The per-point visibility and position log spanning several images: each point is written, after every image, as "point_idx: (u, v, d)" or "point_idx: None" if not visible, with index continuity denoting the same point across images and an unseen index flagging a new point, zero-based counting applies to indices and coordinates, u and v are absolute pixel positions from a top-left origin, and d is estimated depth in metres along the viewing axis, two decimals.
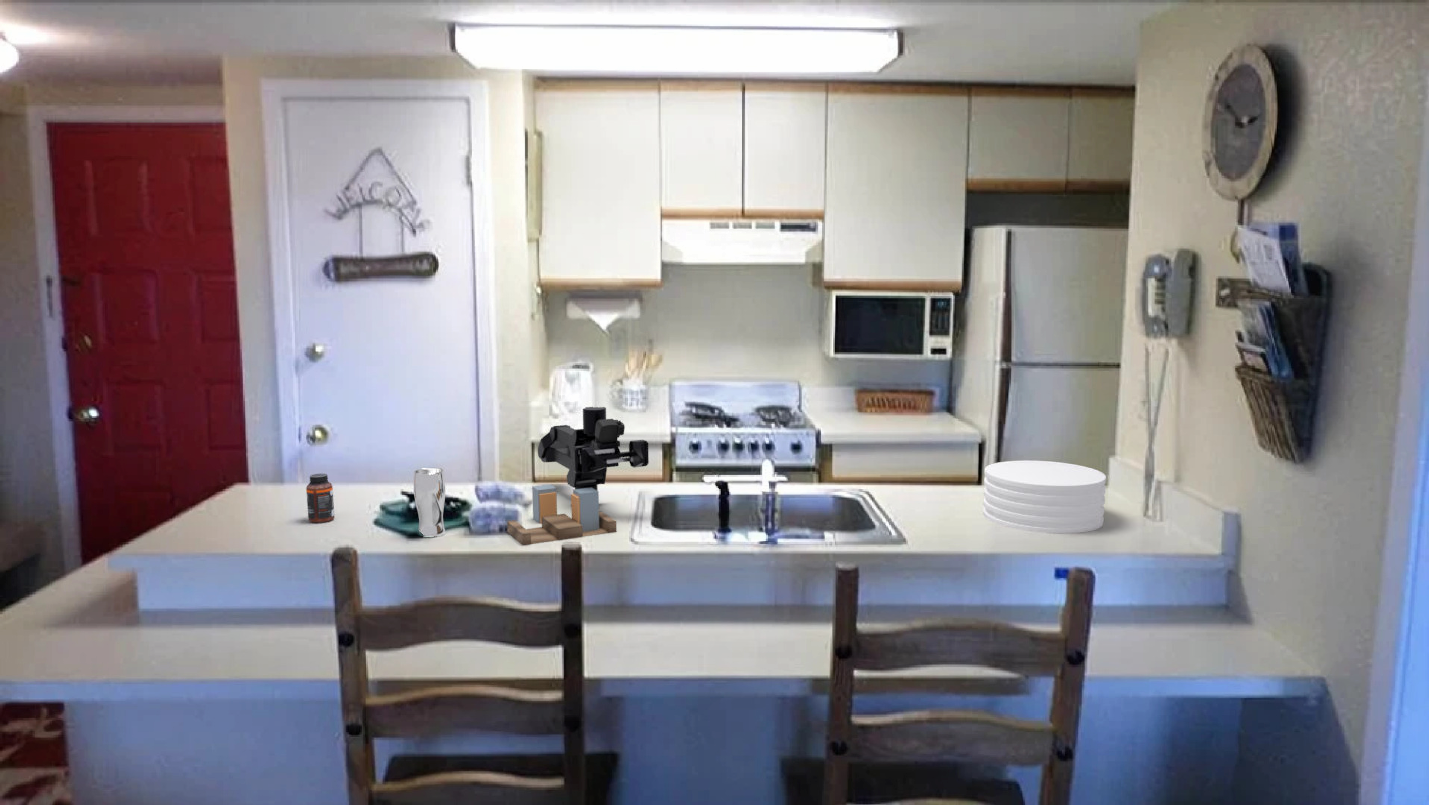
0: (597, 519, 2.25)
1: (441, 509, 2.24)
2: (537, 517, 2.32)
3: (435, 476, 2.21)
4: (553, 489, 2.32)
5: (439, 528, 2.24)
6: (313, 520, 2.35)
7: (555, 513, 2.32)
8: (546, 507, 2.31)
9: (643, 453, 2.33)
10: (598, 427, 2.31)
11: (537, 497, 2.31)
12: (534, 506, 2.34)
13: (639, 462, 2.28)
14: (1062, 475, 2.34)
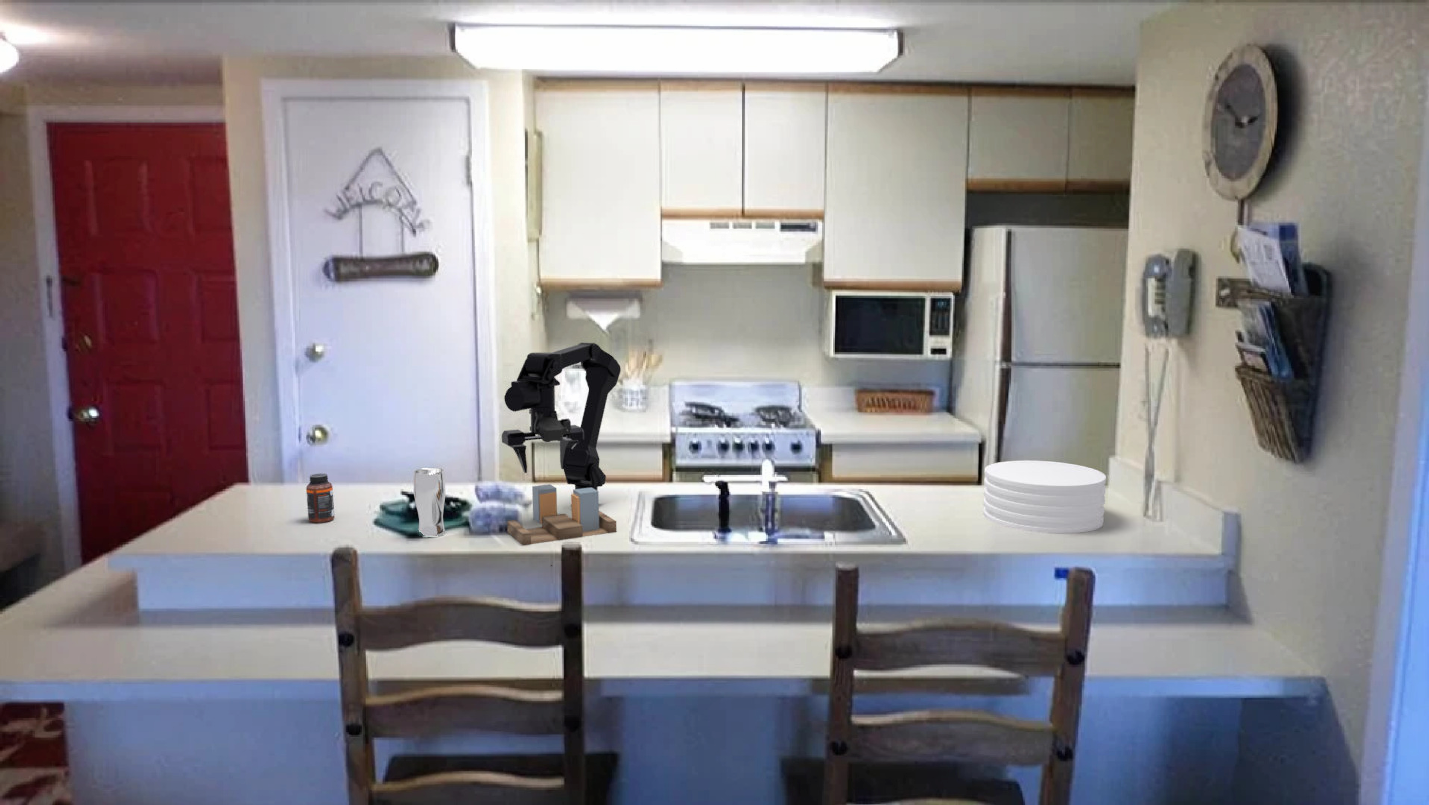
0: (597, 519, 2.25)
1: (441, 509, 2.24)
2: (537, 517, 2.32)
3: (435, 476, 2.21)
4: (553, 489, 2.32)
5: (439, 528, 2.24)
6: (313, 520, 2.35)
7: (555, 513, 2.32)
8: (546, 508, 2.31)
9: None
10: (543, 435, 2.24)
11: (537, 497, 2.31)
12: (534, 506, 2.34)
13: (560, 461, 2.35)
14: (1062, 475, 2.34)
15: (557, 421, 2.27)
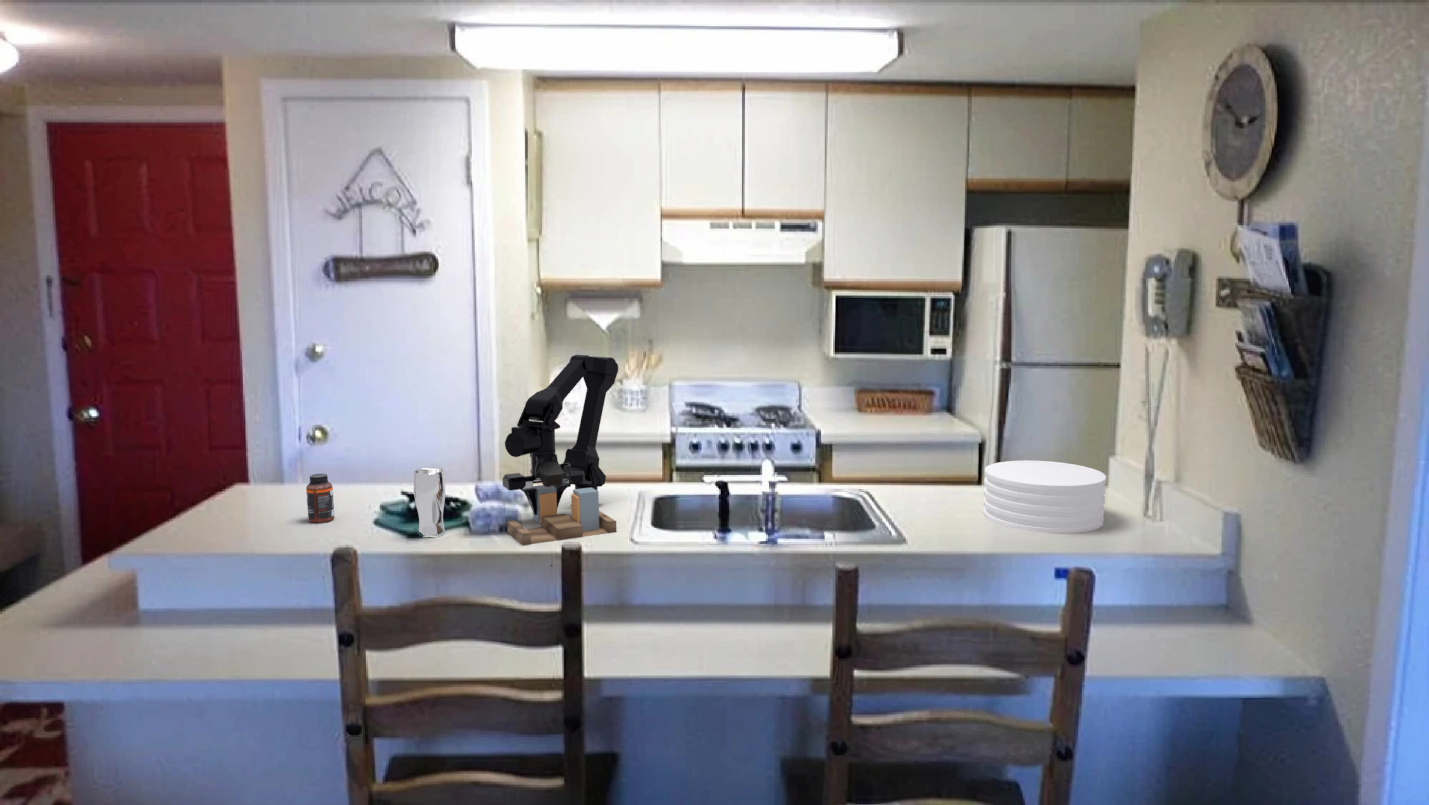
0: (597, 519, 2.25)
1: (441, 509, 2.24)
2: (537, 517, 2.32)
3: (435, 476, 2.21)
4: (553, 489, 2.32)
5: (439, 528, 2.24)
6: (313, 520, 2.35)
7: (555, 513, 2.32)
8: (546, 507, 2.31)
9: None
10: (543, 479, 2.25)
11: (537, 497, 2.31)
12: None
13: None
14: (1062, 475, 2.34)
15: (557, 465, 2.29)
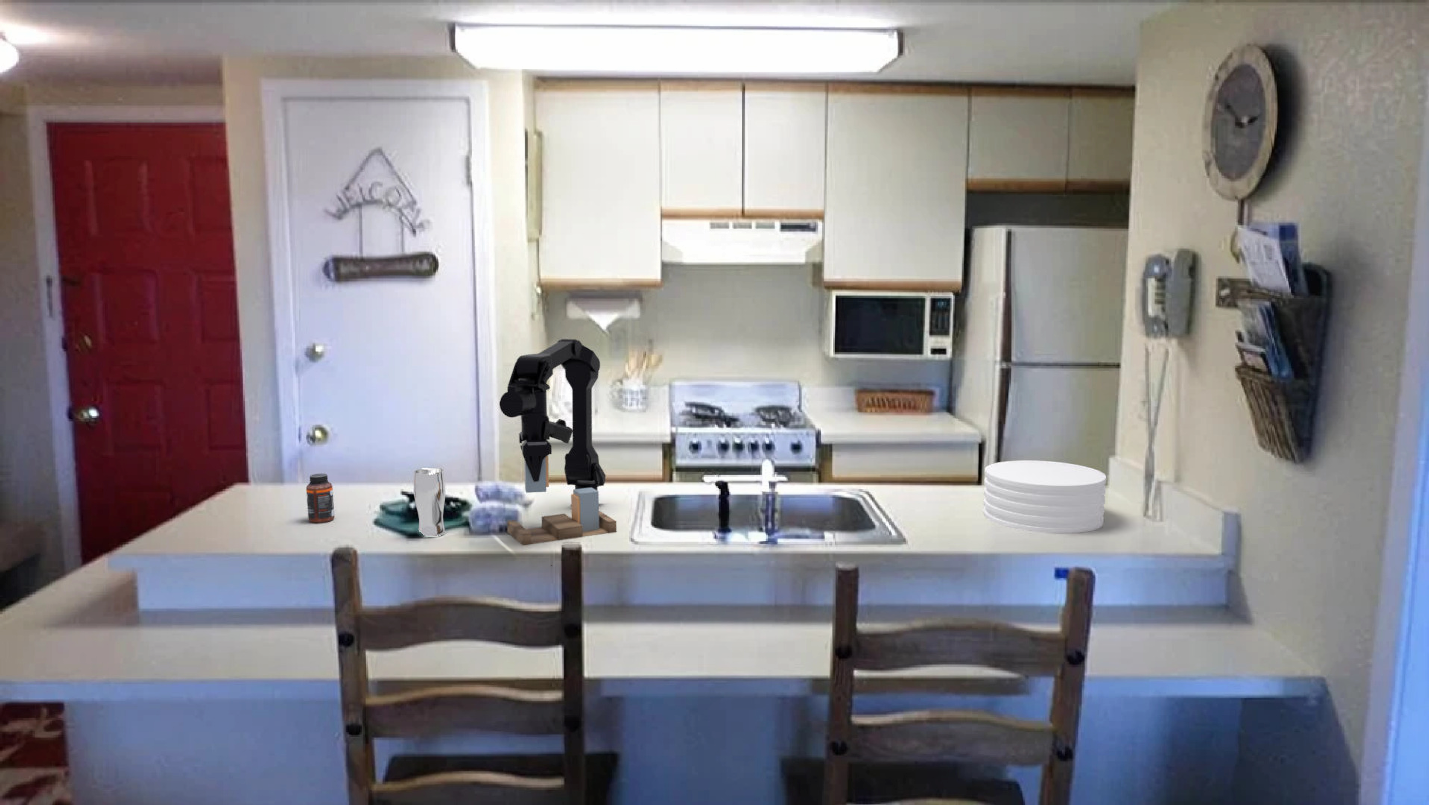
0: (597, 519, 2.25)
1: (441, 509, 2.24)
2: (539, 483, 2.20)
3: (435, 476, 2.21)
4: None
5: (439, 528, 2.24)
6: (313, 520, 2.35)
7: None
8: None
9: None
10: (566, 437, 2.20)
11: None
12: None
13: None
14: (1062, 475, 2.34)
15: (556, 423, 2.23)
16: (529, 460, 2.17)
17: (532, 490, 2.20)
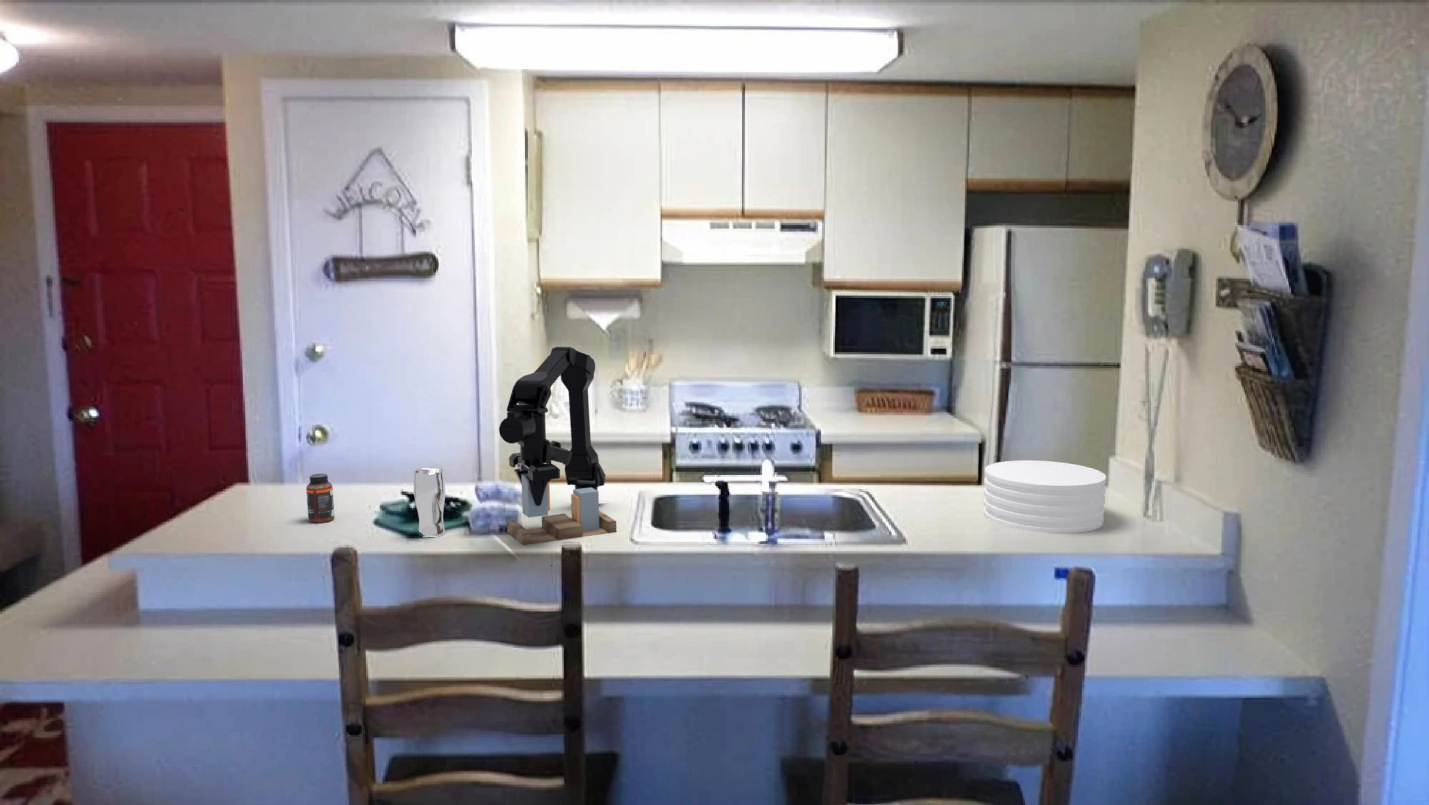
0: (597, 519, 2.25)
1: (441, 509, 2.24)
2: (541, 507, 2.18)
3: (435, 476, 2.21)
4: None
5: (439, 528, 2.24)
6: (313, 520, 2.35)
7: None
8: None
9: None
10: (566, 459, 2.20)
11: None
12: None
13: None
14: (1062, 475, 2.34)
15: (552, 445, 2.22)
16: (533, 485, 2.15)
17: (534, 514, 2.18)
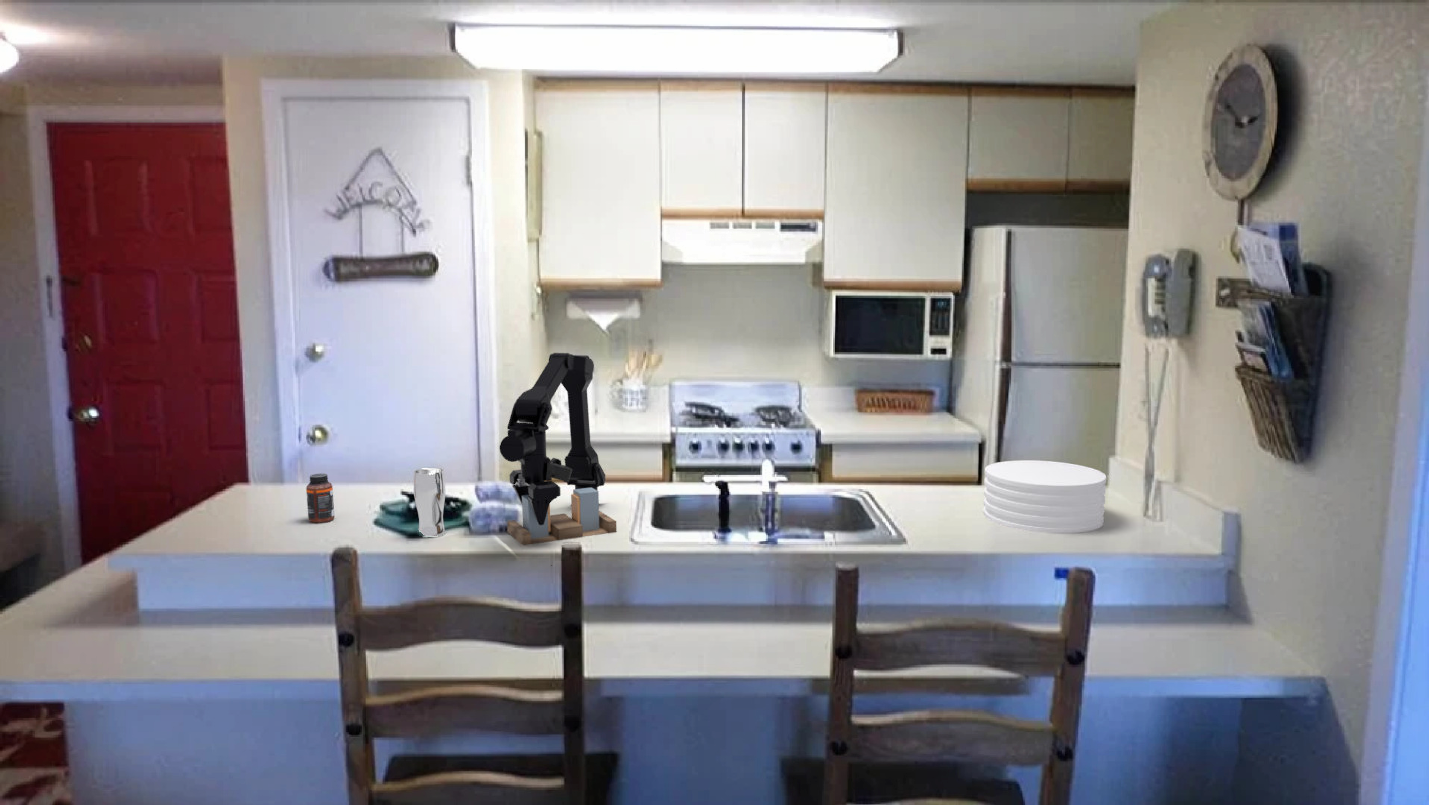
0: (597, 519, 2.25)
1: (441, 509, 2.24)
2: (542, 528, 2.19)
3: (435, 476, 2.21)
4: None
5: (439, 528, 2.24)
6: (313, 520, 2.35)
7: None
8: None
9: None
10: (566, 476, 2.20)
11: None
12: (534, 519, 2.18)
13: None
14: (1062, 475, 2.34)
15: (552, 462, 2.22)
16: (536, 504, 2.14)
17: (535, 536, 2.19)
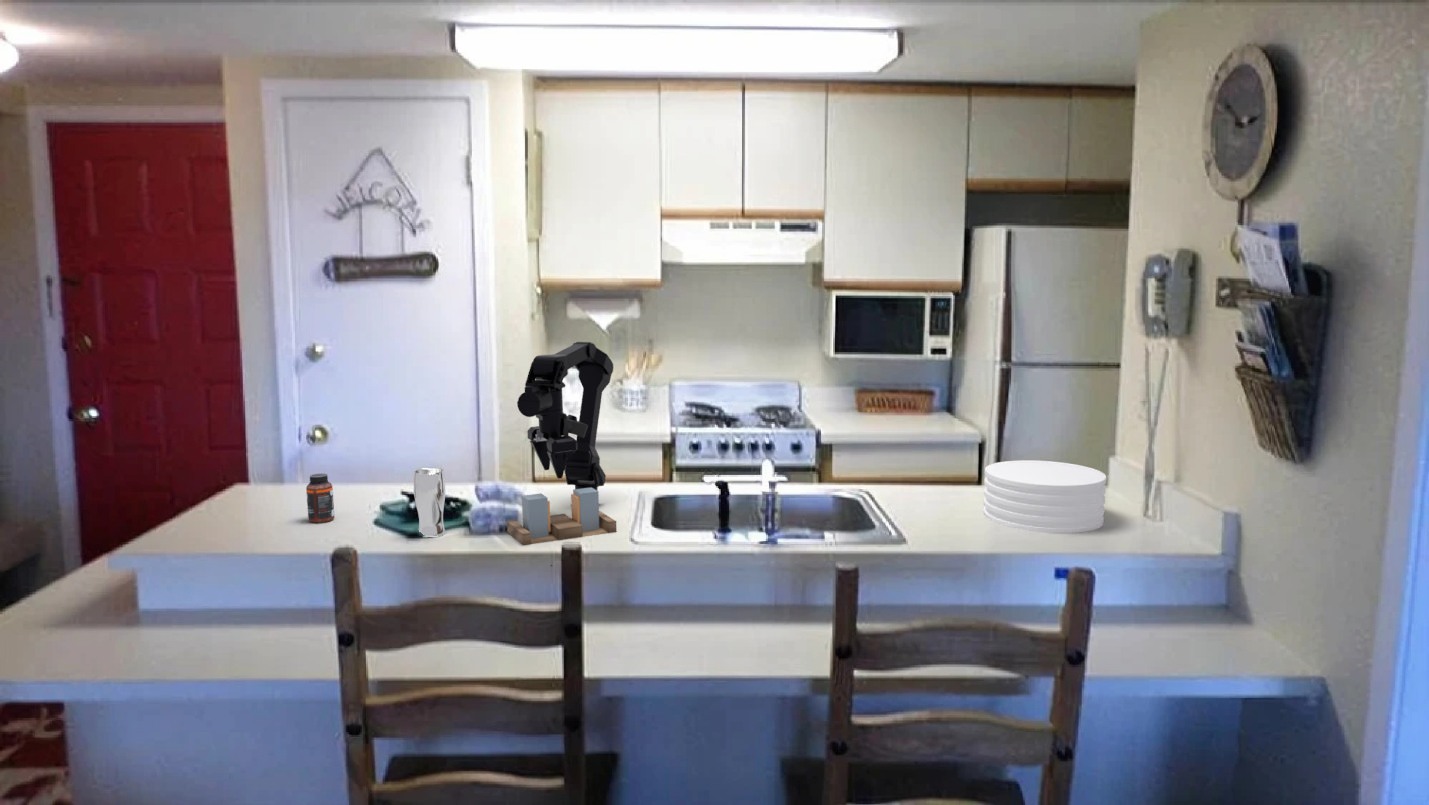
0: (597, 519, 2.25)
1: (441, 509, 2.24)
2: (542, 528, 2.19)
3: (435, 476, 2.21)
4: None
5: (439, 528, 2.24)
6: (313, 520, 2.35)
7: None
8: None
9: None
10: (582, 431, 2.30)
11: (543, 506, 2.19)
12: (534, 519, 2.18)
13: (543, 463, 2.34)
14: (1062, 475, 2.34)
15: (569, 419, 2.32)
16: (555, 458, 2.24)
17: (535, 536, 2.19)
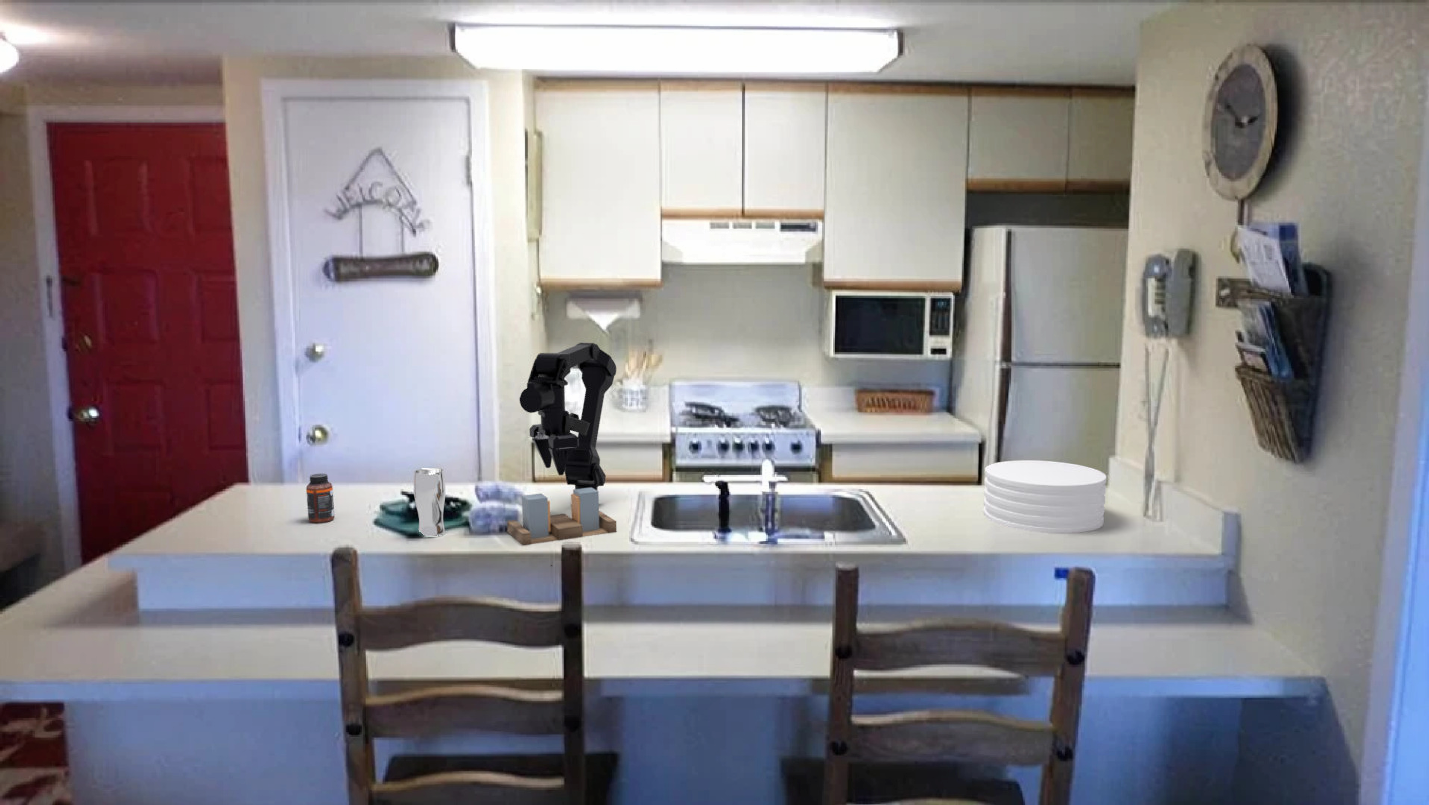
0: (597, 519, 2.25)
1: (441, 509, 2.24)
2: (542, 528, 2.19)
3: (435, 476, 2.21)
4: None
5: (439, 528, 2.24)
6: (313, 520, 2.35)
7: None
8: None
9: None
10: (584, 429, 2.31)
11: (543, 506, 2.19)
12: (534, 519, 2.18)
13: (545, 461, 2.35)
14: (1062, 475, 2.34)
15: (570, 417, 2.34)
16: (556, 455, 2.25)
17: (535, 536, 2.19)
